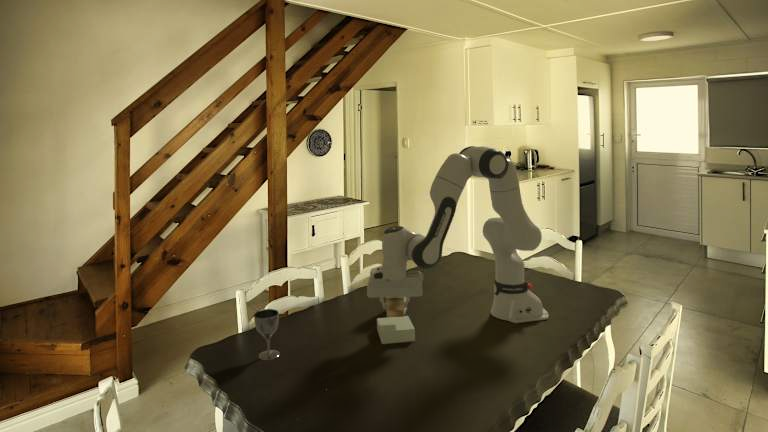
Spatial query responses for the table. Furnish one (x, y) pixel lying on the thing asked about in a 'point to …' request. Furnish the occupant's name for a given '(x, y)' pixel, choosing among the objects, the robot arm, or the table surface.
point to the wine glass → (267, 330)
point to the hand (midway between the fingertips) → (394, 307)
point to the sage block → (395, 330)
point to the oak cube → (395, 306)
